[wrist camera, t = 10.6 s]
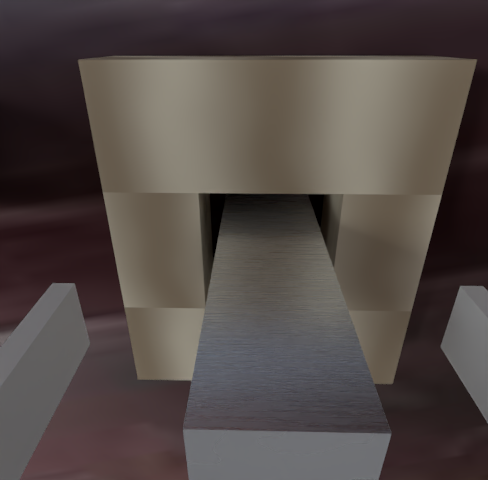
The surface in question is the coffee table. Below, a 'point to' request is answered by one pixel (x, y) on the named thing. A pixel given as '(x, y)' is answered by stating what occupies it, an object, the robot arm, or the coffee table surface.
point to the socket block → (271, 178)
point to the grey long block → (279, 357)
